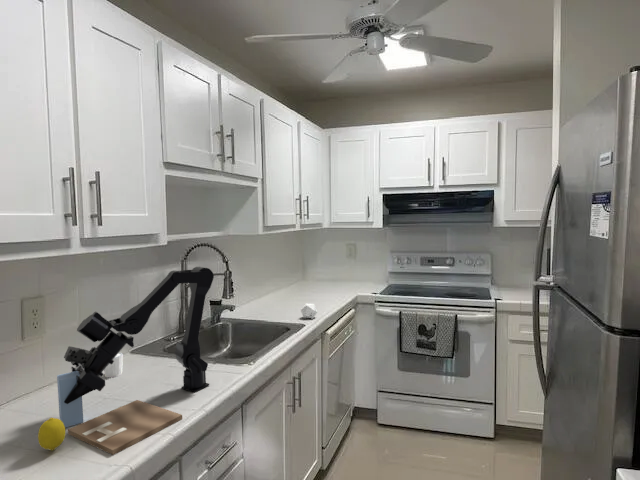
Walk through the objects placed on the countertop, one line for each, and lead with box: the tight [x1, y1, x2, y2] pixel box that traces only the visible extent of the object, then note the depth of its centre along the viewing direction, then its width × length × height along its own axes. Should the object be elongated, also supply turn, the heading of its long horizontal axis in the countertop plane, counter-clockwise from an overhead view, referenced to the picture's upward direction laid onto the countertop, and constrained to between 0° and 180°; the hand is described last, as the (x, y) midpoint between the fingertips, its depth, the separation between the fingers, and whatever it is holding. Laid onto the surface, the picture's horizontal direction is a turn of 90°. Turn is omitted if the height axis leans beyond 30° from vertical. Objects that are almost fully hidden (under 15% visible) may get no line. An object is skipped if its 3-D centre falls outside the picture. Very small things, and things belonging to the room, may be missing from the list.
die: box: [300, 303, 318, 320], centre depth 228 cm, size 8×9×10 cm
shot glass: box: [103, 352, 124, 378], centre depth 149 cm, size 7×7×7 cm
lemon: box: [37, 417, 66, 452], centre depth 99 cm, size 6×6×8 cm
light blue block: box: [56, 371, 84, 428], centre depth 113 cm, size 5×5×13 cm
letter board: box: [67, 399, 183, 456], centre depth 110 cm, size 20×20×1 cm
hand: (64, 399), depth 112 cm, fingers closed on light blue block, 5 cm apart
